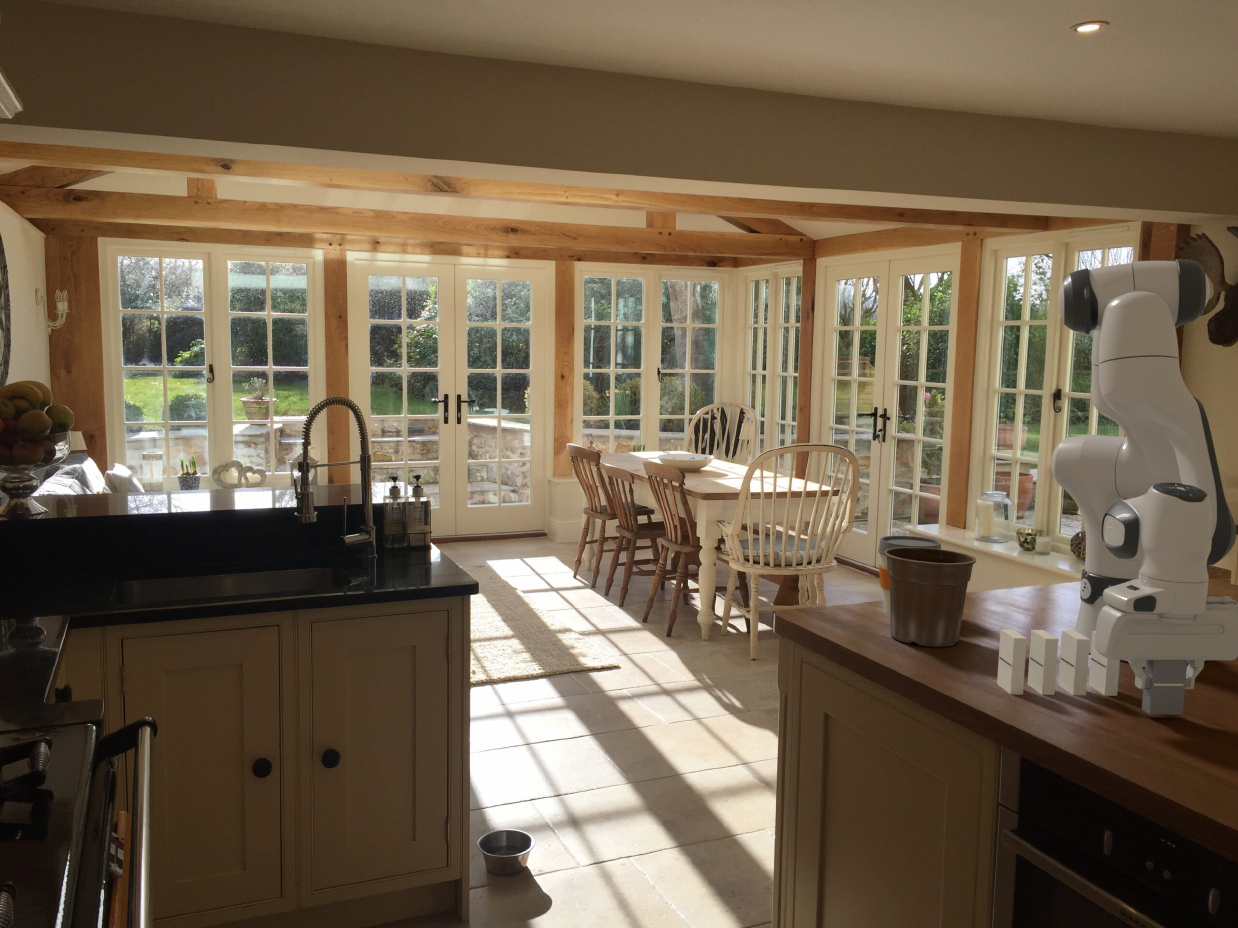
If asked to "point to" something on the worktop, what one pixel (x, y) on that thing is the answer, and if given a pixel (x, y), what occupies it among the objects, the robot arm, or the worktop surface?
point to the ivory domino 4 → (1103, 672)
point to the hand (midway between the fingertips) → (1163, 687)
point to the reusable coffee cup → (896, 542)
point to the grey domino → (1165, 687)
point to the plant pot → (927, 594)
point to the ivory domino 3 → (1073, 662)
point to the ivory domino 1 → (1011, 661)
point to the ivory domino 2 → (1042, 662)
